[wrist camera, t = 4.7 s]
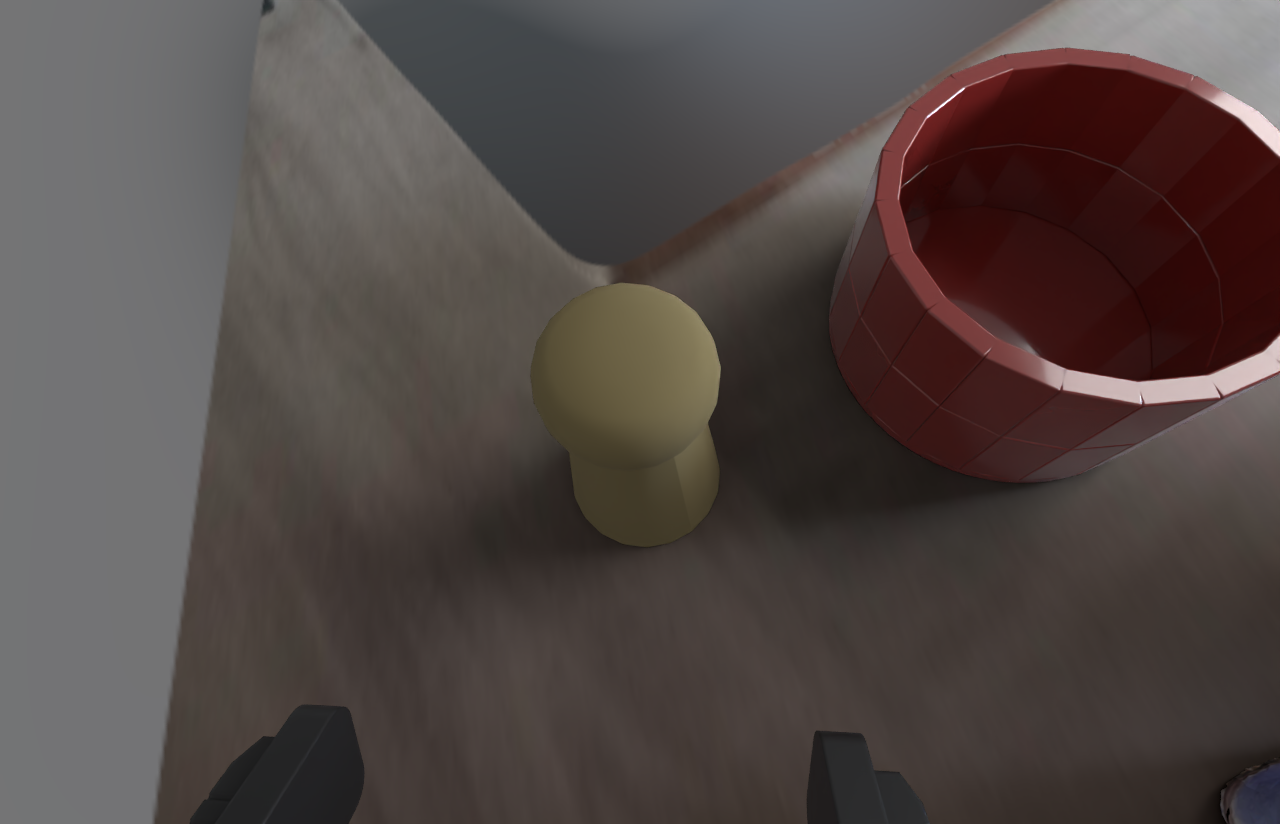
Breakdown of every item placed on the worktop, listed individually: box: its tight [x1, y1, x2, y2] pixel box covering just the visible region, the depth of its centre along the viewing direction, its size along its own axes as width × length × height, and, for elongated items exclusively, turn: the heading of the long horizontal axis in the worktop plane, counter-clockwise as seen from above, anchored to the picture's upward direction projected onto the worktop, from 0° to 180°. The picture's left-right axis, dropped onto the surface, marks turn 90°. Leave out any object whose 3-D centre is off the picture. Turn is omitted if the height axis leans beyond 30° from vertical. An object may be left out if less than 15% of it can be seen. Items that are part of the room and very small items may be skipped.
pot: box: [829, 48, 1280, 483], centre depth 24 cm, size 14×14×8 cm
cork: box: [531, 283, 721, 547], centre depth 22 cm, size 6×6×11 cm
